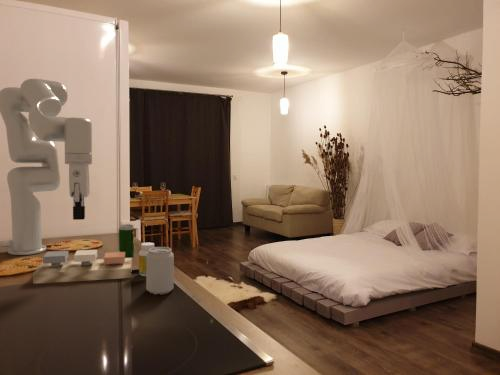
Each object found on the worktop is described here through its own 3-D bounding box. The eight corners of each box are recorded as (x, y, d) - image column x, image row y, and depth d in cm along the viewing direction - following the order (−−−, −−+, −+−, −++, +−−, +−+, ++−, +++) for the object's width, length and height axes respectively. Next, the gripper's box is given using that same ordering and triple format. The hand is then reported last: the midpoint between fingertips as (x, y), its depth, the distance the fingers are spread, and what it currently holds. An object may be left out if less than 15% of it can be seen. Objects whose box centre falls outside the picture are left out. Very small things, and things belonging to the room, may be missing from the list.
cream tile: (74, 267, 120) (74, 255, 119) (77, 261, 125) (77, 250, 125) (95, 266, 121) (95, 254, 121) (97, 260, 127) (97, 249, 127)
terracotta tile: (104, 269, 122) (104, 257, 122) (105, 263, 128) (105, 252, 127) (124, 268, 124) (124, 256, 123) (125, 262, 129) (125, 251, 129)
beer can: (121, 261, 138) (120, 227, 137) (116, 257, 143) (116, 225, 142) (136, 259, 141) (136, 226, 140) (131, 256, 146) (131, 223, 145)
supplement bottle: (141, 277, 122) (140, 246, 121) (137, 272, 127) (137, 242, 126) (158, 275, 125) (158, 244, 124) (154, 270, 129) (154, 241, 128)
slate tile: (43, 269, 117) (42, 256, 117) (47, 263, 123) (47, 251, 123) (65, 267, 119) (64, 255, 119) (68, 262, 125) (68, 250, 124)
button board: (33, 283, 114) (33, 273, 114) (43, 271, 126) (42, 261, 125) (131, 277, 121) (131, 268, 121) (131, 266, 133) (131, 257, 133)
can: (160, 297, 106) (160, 253, 105) (140, 291, 110) (140, 249, 109) (179, 289, 112) (179, 248, 111) (159, 284, 116) (160, 244, 115)
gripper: (89, 160, 114) (90, 223, 116) (93, 158, 128) (93, 214, 130) (61, 160, 111) (62, 224, 113) (68, 157, 126) (68, 215, 128)
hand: (79, 218), depth 122 cm, fingers closed
